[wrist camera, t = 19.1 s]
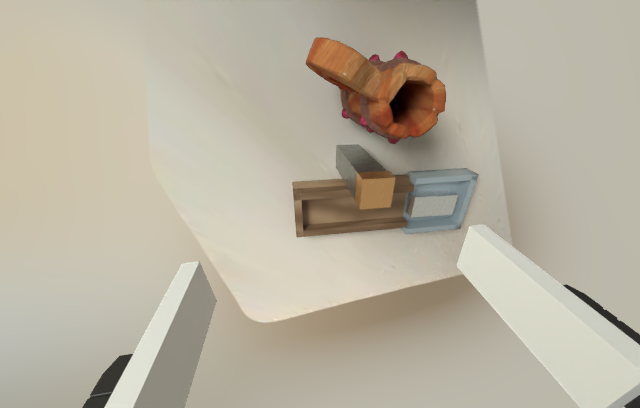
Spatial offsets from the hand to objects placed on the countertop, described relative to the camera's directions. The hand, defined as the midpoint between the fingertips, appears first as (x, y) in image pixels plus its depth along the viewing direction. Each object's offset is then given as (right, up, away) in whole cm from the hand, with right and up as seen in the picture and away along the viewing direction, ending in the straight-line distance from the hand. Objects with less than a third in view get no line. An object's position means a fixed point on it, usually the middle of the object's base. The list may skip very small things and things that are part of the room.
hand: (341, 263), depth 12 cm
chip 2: (+21, +4, +31) cm, 38 cm away
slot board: (+4, +3, +30) cm, 30 cm away
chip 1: (+17, +4, +31) cm, 35 cm away
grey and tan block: (+3, +11, +26) cm, 28 cm away
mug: (+3, +20, +21) cm, 29 cm away
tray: (+20, +4, +32) cm, 38 cm away
